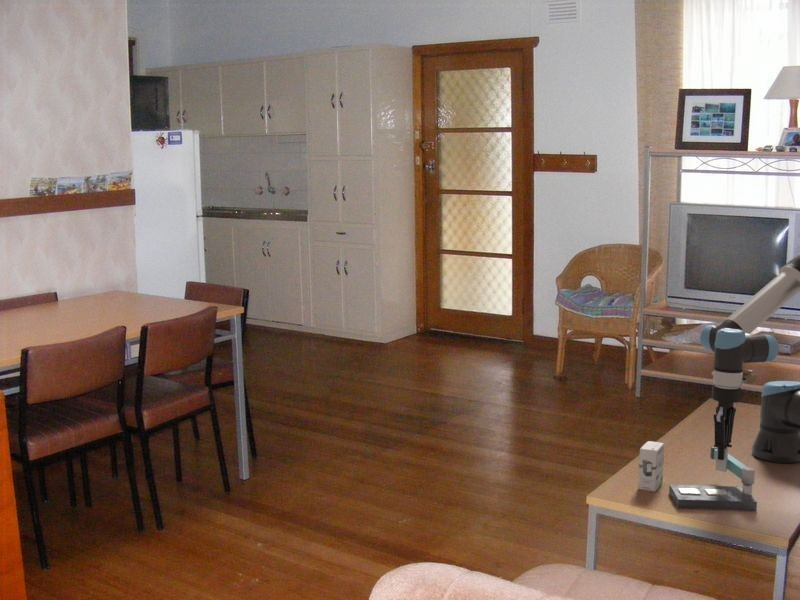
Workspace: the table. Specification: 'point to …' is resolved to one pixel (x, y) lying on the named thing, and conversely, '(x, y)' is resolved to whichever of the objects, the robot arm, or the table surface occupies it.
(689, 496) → the plate
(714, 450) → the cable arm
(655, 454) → the ink box
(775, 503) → the table surface
